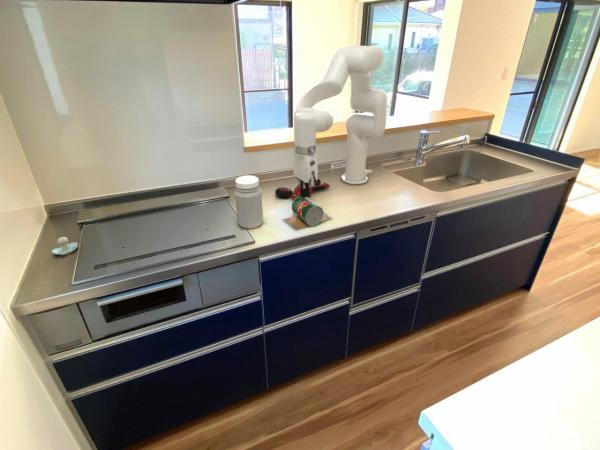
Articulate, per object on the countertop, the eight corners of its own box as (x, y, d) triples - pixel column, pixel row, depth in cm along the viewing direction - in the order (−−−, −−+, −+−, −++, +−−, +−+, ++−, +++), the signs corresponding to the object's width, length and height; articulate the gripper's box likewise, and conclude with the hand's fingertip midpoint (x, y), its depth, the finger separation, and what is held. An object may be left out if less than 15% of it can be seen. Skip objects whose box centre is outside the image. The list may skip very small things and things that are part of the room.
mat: (317, 209, 141) (317, 209, 141) (330, 218, 134) (330, 218, 134) (283, 220, 133) (283, 219, 133) (296, 229, 127) (296, 229, 127)
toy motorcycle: (272, 198, 153) (295, 205, 142) (270, 187, 151) (294, 193, 140) (312, 185, 168) (336, 190, 157) (311, 174, 166) (336, 178, 155)
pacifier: (51, 253, 114) (56, 260, 110) (43, 237, 111) (49, 243, 107) (75, 244, 119) (81, 250, 115) (68, 228, 116) (75, 234, 112)
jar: (234, 220, 133) (230, 176, 124) (258, 215, 137) (255, 172, 128) (241, 232, 125) (237, 186, 117) (267, 226, 129) (264, 182, 120)
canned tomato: (293, 195, 132) (308, 206, 124) (310, 195, 136) (325, 205, 128) (289, 214, 135) (303, 226, 127) (306, 213, 139) (321, 225, 131)
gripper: (326, 153, 118) (324, 201, 127) (302, 142, 129) (302, 187, 138) (307, 156, 115) (307, 206, 124) (285, 145, 126) (286, 191, 135)
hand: (304, 196), depth 131 cm, fingers closed
